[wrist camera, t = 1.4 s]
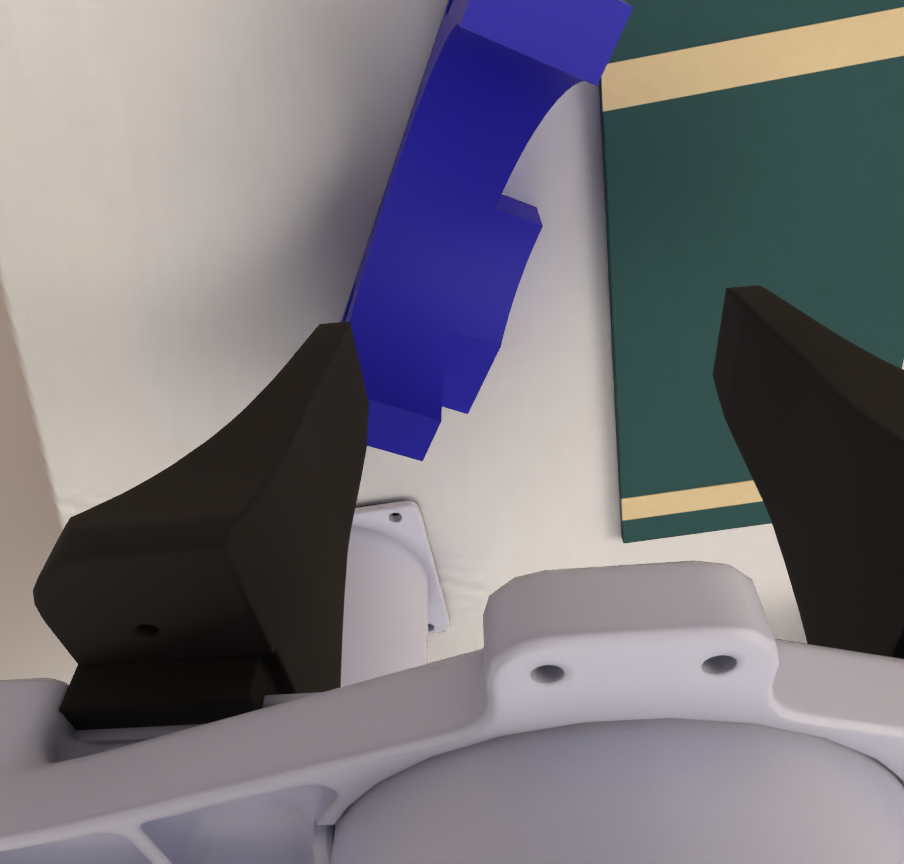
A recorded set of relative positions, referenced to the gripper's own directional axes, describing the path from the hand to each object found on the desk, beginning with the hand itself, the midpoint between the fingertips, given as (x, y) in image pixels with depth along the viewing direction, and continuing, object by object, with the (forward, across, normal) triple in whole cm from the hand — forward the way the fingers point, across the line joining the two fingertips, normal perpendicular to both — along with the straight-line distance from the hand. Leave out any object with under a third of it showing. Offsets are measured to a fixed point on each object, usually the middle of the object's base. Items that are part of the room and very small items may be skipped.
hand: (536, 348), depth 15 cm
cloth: (+10, -8, +6) cm, 14 cm away
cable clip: (+10, +1, 0) cm, 10 cm away
